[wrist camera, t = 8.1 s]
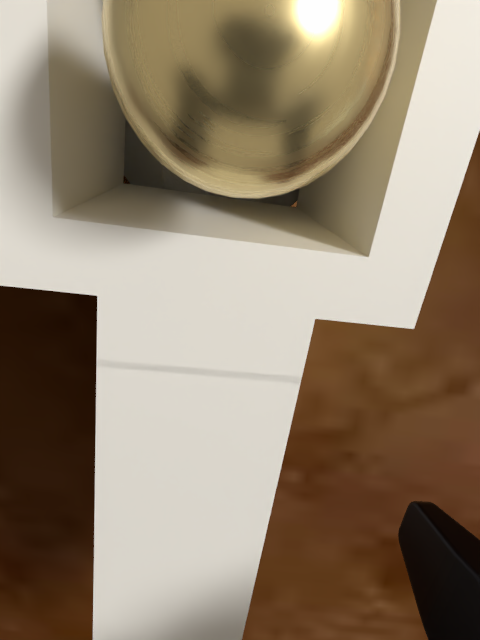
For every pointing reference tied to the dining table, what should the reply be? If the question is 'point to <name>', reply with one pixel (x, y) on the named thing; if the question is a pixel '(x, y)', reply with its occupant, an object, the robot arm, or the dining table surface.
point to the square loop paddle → (213, 295)
